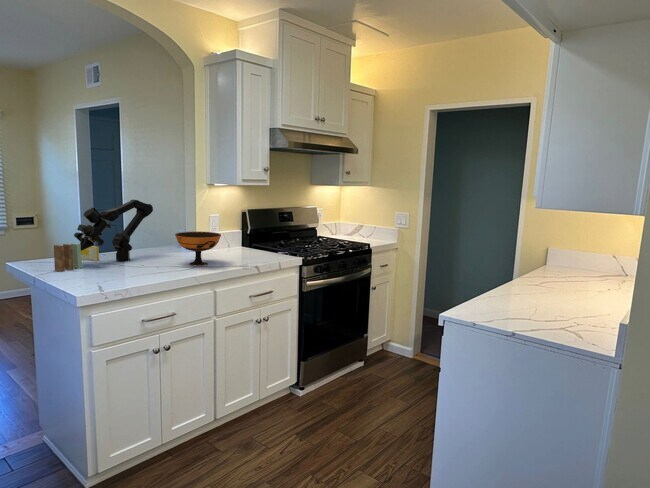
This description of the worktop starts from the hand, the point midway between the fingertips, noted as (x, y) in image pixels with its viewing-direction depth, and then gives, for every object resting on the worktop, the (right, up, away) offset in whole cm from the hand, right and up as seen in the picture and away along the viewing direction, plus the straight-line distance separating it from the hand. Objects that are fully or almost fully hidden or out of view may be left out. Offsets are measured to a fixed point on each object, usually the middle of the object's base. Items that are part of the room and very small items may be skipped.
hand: (78, 251), depth 239 cm
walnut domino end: (-5, -10, -8) cm, 14 cm away
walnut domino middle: (-3, -9, -4) cm, 11 cm away
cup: (+57, -8, +23) cm, 62 cm away
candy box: (-8, -6, +22) cm, 24 cm away
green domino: (-1, -9, 0) cm, 9 cm away
